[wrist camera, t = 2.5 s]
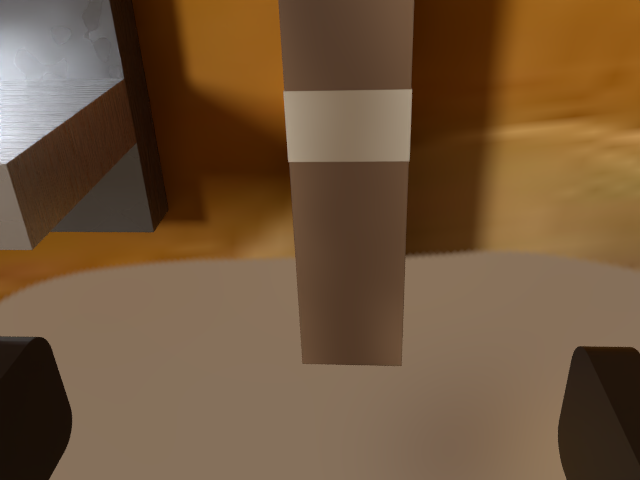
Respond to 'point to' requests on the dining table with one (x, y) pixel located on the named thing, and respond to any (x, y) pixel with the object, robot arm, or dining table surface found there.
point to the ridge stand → (74, 123)
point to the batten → (349, 172)
